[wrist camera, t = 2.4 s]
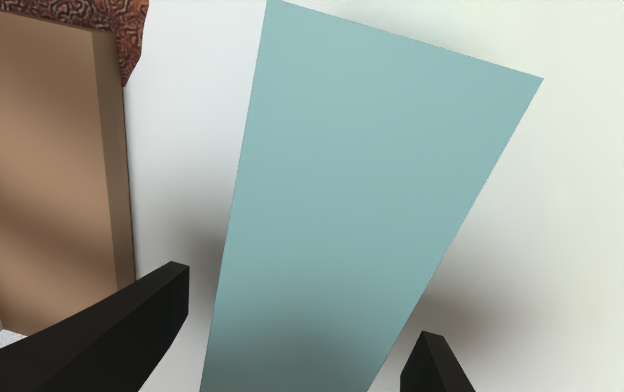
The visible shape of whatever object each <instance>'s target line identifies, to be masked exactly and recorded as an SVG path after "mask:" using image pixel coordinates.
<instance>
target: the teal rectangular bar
mask: <svg viewBox="0 0 624 392" xmlns="http://www.w3.org/2000/svg"><path fill="white" fill-rule="evenodd" d="M543 79H544V78H540V77H537V76H534V75H530V74H527V73H524V72H520V71H517V70H513V69H510V68H507V67H503V66H500V65H497V64H493V63H490V62H487V61H483V60H480V59H476V58H473V57H470V56H466V55H463V54H460V53H456V52H453V51H449V50H446V49H443V48H439V47H436V46H433V45H429V44H426V43H423V42H419V41H416V40H412V39H409V38H406V37H402V36H399V35H396V34H392V33H389V32H385V31H382V30H379V29H375V28H372V27H369V26H365V25H362V24H359V23H355V22H352V21H348V20H345V19H342V18H338V17H335V16H332V15H328V14H325V13H322V12H318V11H315V10H311V9H308V8H305V7H301V6H298V5H295V4H291V3H288V2H284V1H281V0H267V4H266V10H265V16H264V21H263V27H262V33H261V39H260V44H259V50H258V56H257V62H256V68H255V73H254V79H253V85H252V91H251V96H250V102H249V108H248V114H247V120H246V125H245V131H244V137H243V143H242V148H241V154H240V160H239V166H238V172H237V177H236V183H235V189H234V195H233V200H232V206H231V212H230V218H229V224H228V229H227V235H226V241H225V247H224V252H223V258H222V264H221V270H220V275H219V281H218V287H217V293H216V299H215V304H214V310H213V316H212V322H211V327H210V333H209V339H208V345H207V351H206V356H205V362H204V368H203V374H202V379H201V385H200V391H199V392H367V391H368V389H369V387H370V386H371V384H372V382H373V380H374V379H375V377H376V375H377V373H378V371H379V370H380V368H381V366H382V364H383V363H384V361H385V359H386V357H387V355H388V354H389V352H390V350H391V348H392V347H393V345H394V343H395V341H396V340H397V338H398V336H399V334H400V332H401V331H402V329H403V327H404V325H405V324H406V322H407V320H408V318H409V317H410V315H411V313H412V311H413V309H414V308H415V306H416V304H417V302H418V301H419V299H420V297H421V295H422V293H423V292H424V290H425V288H426V286H427V285H428V283H429V281H430V279H431V278H432V276H433V274H434V272H435V270H436V269H437V267H438V265H439V263H440V262H441V260H442V258H443V256H444V255H445V253H446V251H447V249H448V247H449V246H450V244H451V242H452V240H453V239H454V237H455V235H456V233H457V231H458V230H459V228H460V226H461V224H462V223H463V221H464V219H465V217H466V216H467V214H468V212H469V210H470V208H471V207H472V205H473V203H474V201H475V200H476V198H477V196H478V194H479V193H480V191H481V189H482V187H483V185H484V184H485V182H486V180H487V178H488V177H489V175H490V173H491V171H492V169H493V168H494V166H495V164H496V162H497V161H498V159H499V157H500V155H501V154H502V152H503V150H504V148H505V146H506V145H507V143H508V141H509V139H510V138H511V136H512V134H513V132H514V131H515V129H516V127H517V125H518V123H519V122H520V120H521V118H522V116H523V115H524V113H525V111H526V109H527V108H528V106H529V104H530V102H531V100H532V99H533V97H534V95H535V93H536V92H537V90H538V88H539V86H540V84H541V83H542V81H543Z"/></svg>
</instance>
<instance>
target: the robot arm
mask: <svg viewBox="0 0 624 392" xmlns="http://www.w3.org/2000/svg"><path fill="white" fill-rule="evenodd" d="M189 269H190V266H187V265H183V264H180V263H176V262H173V261H170V262H169V263H167V264H165V265H163V266H161V267H160V268H158V269H156V270H154V271H152V272H151V273H149V274H147V275H146V276H144V277H142V278H140V279H139V280H137V281H135V282H133V283H132V284H130V285H128V286H126V287H125V288H123V289H121V290H119V291H117V292H115V293H114V294H112V295H110V296H108V297H106V298H105V299H103V300H101V301H99V302H97V303H95V304H94V305H92V306H90V307H88V308H86V309H84V310H82V311H80V312H78V313H76V314H74V315H72V316H70V317H68V318H66V319H64V320H62V321H60V322H58V323H56V324H54V325H52V326H50V327H48V328H46V329H44V330H41V331H39V332H37V333H35V334H33V335H30V336H28V337H26V338H24V339H21V340H19V341H17V342H14V343H12V344H10V345H7V346H5V347H3V348H0V392H138V391H139V390H140V388H141V387H142V385H143V384H144V383H145V381H146V380H147V379H148V377H149V376H150V374H151V373H152V372H153V370H154V369H155V367H156V366H157V364H158V363H159V362H160V360H161V359H162V357H163V356H164V355H165V353H166V352H167V350H168V349H169V347H170V346H171V344H172V343H173V341H174V339H175V337H176V336H177V334H178V332H179V330H180V328H181V327H182V325H183V323H184V321H185V319H186V317H187V316H188V305H189ZM400 392H475V390H474V388H473V387H472V385H471V383H470V381H469V380H468V378H467V376H466V375H465V373H464V371H463V369H462V368H461V366H460V364H459V363H458V361H457V359H456V357H455V356H454V354H453V352H452V350H451V349H450V347H449V345H448V344H447V342H446V340H445V338H444V337H443V336H440V335H437V334H433V333H429V332H426V331H422V332H421V334H420V336H419V338H418V340H417V342H416V344H415V346H414V348H413V351H412V353H411V355H410V357H409V359H408V361H407V363H406V365H405V367H404V369H403V371H402V373H401V375H400Z"/></svg>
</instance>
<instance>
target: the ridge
mask: <svg viewBox="0 0 624 392" xmlns="http://www.w3.org/2000/svg"><path fill="white" fill-rule="evenodd" d="M133 282H135V274H134V259H133V244H132V230H131V215H130V200H129V185H128V170H127V155H126V140H125V125H124V111H123V96H122V81H121V73H120V65H119V57H118V49H117V40H116V33H111V32H106V31H102V30H97V29H92V28H87V27H83V26H78V25H73V24H68V23H64V22H59V21H54V20H50V19H45V18H41V17H36V16H32V15H27V14H22V13H18V12H13V11H9V10H4V9H0V331H1V330H3V329H6V330H9V331H12V332H15V333H19V334H22V335H25V336H30V335H33V334H35V333H37V332H39V331H41V330H44V329H46V328H48V327H50V326H52V325H54V324H56V323H58V322H60V321H62V320H64V319H66V318H68V317H70V316H72V315H74V314H76V313H78V312H80V311H82V310H84V309H86V308H88V307H90V306H92V305H94V304H95V303H97V302H99V301H101V300H103V299H105V298H106V297H108V296H110V295H112V294H114V293H115V292H117V291H119V290H121V289H123V288H125V287H126V286H128V285H130V284H132V283H133Z"/></svg>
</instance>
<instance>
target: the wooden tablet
mask: <svg viewBox="0 0 624 392" xmlns="http://www.w3.org/2000/svg"><path fill="white" fill-rule="evenodd" d="M148 7H149V0H0V9H4V10H9V11H13V12H18V13H22V14H27V15H32V16H36V17H41V18H45V19H50V20H54V21H59V22H64V23H68V24H73V25H78V26H83V27H87V28H92V29H97V30H102V31H106V32H111V33H116V40H117V49H118V57H119V65H120V73H121V81H122V87H125V86H126V83H127V81H128V79H129V77H130V75H131V73H132V71H133V70H134V68H135V66H136V64H137V62H138V61H139V59H140V56H141V49H142V35H143V28H144V22H145V18H146V14H147V11H148Z"/></svg>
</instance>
